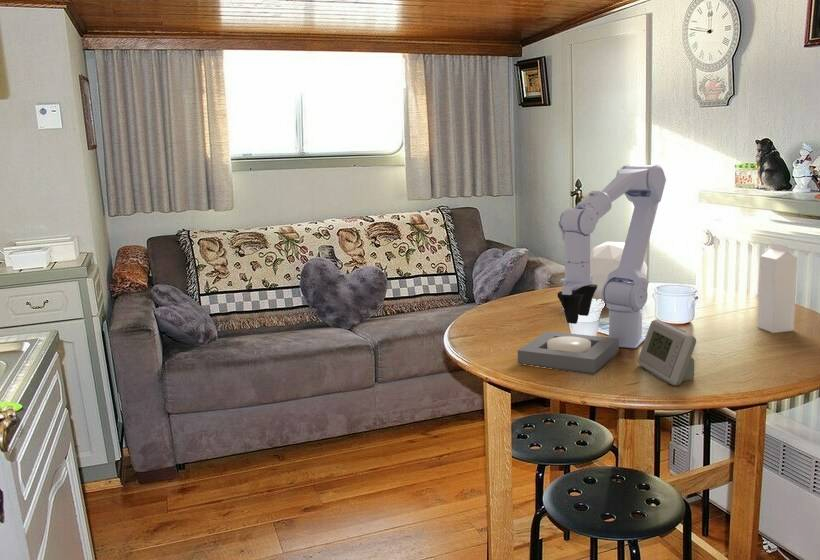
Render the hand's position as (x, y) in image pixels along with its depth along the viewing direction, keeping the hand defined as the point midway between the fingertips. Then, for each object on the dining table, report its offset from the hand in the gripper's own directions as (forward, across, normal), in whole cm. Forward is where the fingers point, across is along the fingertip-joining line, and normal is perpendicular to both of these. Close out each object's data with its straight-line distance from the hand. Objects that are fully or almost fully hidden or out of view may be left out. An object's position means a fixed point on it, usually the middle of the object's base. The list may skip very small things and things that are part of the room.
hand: (578, 319), depth 167 cm
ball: (+10, -58, -10) cm, 60 cm away
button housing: (+10, +1, -2) cm, 10 cm away
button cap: (+9, +1, -2) cm, 9 cm away
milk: (+10, -44, +36) cm, 58 cm away
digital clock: (+10, +3, +20) cm, 23 cm away
